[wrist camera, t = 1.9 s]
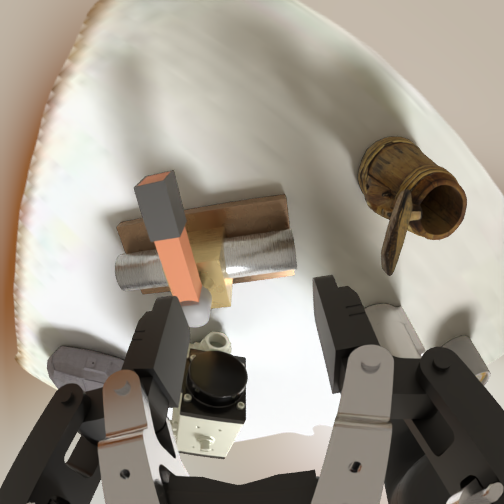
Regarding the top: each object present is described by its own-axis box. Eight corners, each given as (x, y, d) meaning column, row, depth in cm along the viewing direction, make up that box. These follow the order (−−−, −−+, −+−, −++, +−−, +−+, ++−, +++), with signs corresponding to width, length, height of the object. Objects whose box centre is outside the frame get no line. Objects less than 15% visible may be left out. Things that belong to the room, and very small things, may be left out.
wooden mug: (321, 131, 30) (396, 182, 14) (427, 139, 30) (536, 194, 14) (318, 208, 34) (371, 312, 19) (418, 207, 34) (503, 292, 19)
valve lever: (215, 307, 29) (213, 327, 27) (184, 310, 29) (179, 330, 27) (178, 169, 22) (170, 179, 20) (140, 177, 22) (128, 188, 20)
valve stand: (284, 194, 34) (297, 233, 25) (292, 268, 39) (304, 320, 30) (120, 222, 35) (87, 264, 26) (145, 287, 40) (124, 337, 31)
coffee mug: (443, 339, 48) (464, 377, 39) (477, 332, 48) (498, 366, 39) (418, 381, 54) (433, 417, 46) (451, 373, 54) (467, 406, 46)
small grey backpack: (140, 353, 47) (45, 331, 46) (128, 392, 40) (26, 363, 38) (149, 398, 55) (66, 378, 53) (141, 432, 48) (53, 407, 46)
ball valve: (189, 300, 41) (165, 412, 26) (249, 312, 42) (250, 425, 27) (178, 375, 50) (164, 464, 34) (225, 383, 51) (221, 473, 36)
